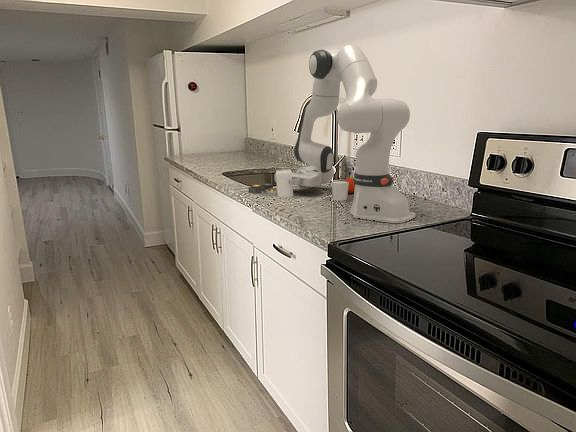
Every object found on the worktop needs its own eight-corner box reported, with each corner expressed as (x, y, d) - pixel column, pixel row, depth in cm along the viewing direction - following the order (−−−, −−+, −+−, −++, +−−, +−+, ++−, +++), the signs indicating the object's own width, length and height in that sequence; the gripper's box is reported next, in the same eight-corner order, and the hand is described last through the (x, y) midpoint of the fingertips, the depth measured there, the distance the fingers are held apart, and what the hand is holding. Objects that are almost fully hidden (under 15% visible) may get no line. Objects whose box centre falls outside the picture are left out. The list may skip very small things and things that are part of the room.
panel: (290, 194, 192) (290, 186, 191) (271, 199, 184) (270, 191, 183) (267, 190, 201) (267, 183, 201) (247, 195, 193) (247, 187, 192)
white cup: (349, 198, 185) (349, 181, 183) (346, 201, 179) (347, 184, 177) (332, 197, 187) (333, 180, 185) (329, 200, 181) (329, 183, 179)
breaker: (262, 190, 193) (262, 185, 192) (256, 191, 191) (256, 186, 190) (256, 189, 195) (256, 184, 195) (250, 190, 193) (250, 185, 192)
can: (291, 199, 181) (289, 169, 179) (276, 199, 182) (273, 170, 180) (294, 196, 187) (292, 167, 185) (279, 197, 189) (277, 168, 186)
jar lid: (290, 192, 192) (290, 189, 192) (276, 195, 186) (276, 192, 185) (275, 189, 198) (275, 186, 197) (261, 192, 191) (261, 189, 191)
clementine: (363, 194, 191) (364, 177, 190) (348, 195, 189) (349, 178, 188) (355, 191, 199) (355, 175, 197) (340, 192, 197) (341, 176, 195)
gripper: (287, 167, 198) (264, 171, 188) (324, 172, 185) (302, 176, 175) (287, 182, 200) (265, 186, 190) (324, 187, 187) (302, 192, 177)
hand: (283, 181), depth 182 cm, fingers open, 5 cm apart
